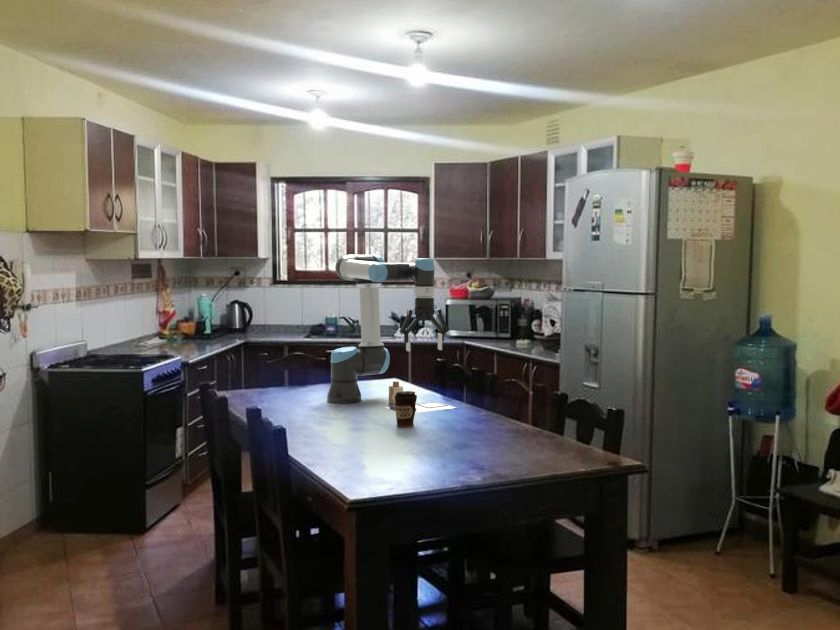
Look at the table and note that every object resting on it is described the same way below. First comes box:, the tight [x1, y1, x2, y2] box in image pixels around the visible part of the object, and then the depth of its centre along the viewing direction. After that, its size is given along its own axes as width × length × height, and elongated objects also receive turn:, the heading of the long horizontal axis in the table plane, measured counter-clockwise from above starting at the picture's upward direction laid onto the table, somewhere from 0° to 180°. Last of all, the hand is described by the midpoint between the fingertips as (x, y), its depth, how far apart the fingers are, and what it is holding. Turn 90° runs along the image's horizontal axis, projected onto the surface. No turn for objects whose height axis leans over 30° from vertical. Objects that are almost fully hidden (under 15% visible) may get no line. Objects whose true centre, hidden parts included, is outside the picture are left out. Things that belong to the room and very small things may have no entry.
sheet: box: [383, 400, 457, 414], centre depth 322 cm, size 17×26×1 cm, turn 121°
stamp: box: [388, 380, 404, 406], centre depth 329 cm, size 4×4×10 cm
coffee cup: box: [395, 390, 418, 428], centre depth 286 cm, size 9×8×13 cm
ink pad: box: [389, 405, 416, 412], centre depth 316 cm, size 10×7×2 cm
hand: (424, 350), depth 305 cm, fingers open, 13 cm apart
